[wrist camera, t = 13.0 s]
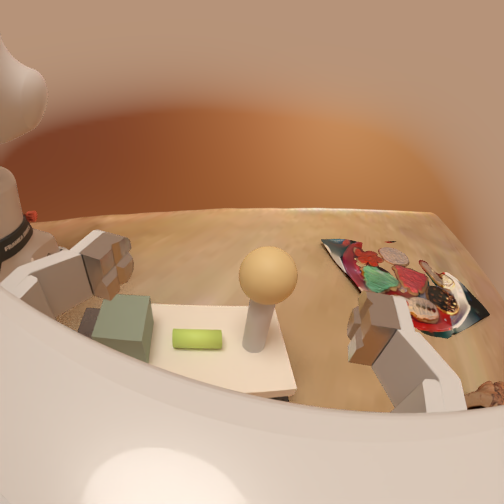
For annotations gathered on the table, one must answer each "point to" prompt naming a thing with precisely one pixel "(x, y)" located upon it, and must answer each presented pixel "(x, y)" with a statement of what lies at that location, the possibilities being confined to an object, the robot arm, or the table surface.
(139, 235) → the table surface
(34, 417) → the robot arm
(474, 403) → the clay pipe
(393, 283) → the colourful flat sheet
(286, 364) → the plate
